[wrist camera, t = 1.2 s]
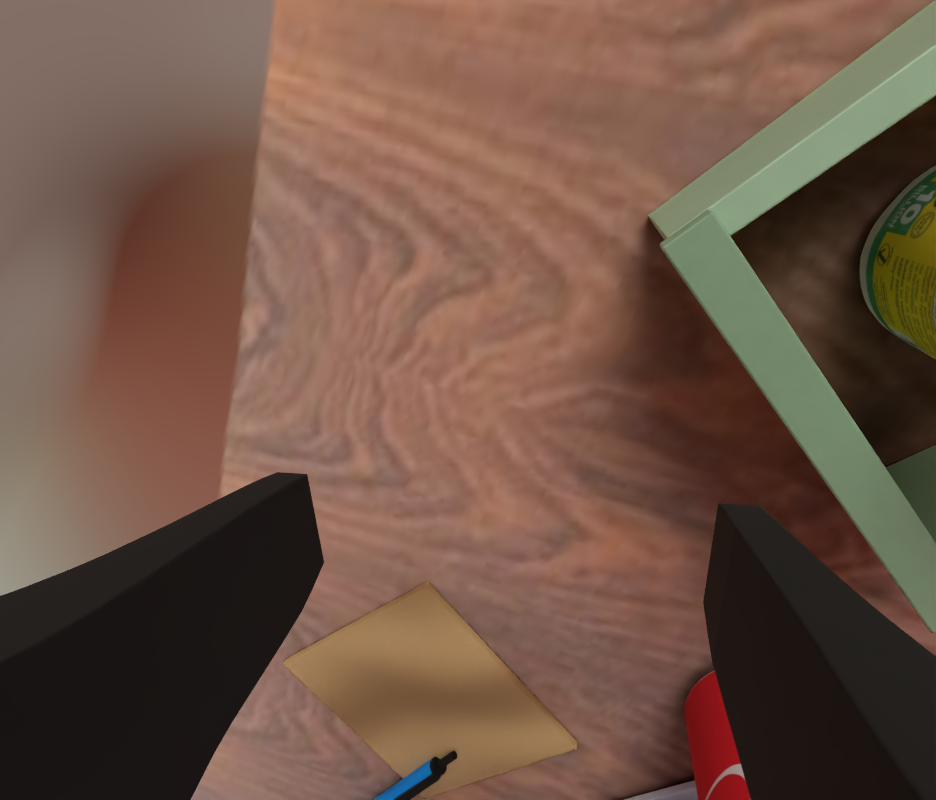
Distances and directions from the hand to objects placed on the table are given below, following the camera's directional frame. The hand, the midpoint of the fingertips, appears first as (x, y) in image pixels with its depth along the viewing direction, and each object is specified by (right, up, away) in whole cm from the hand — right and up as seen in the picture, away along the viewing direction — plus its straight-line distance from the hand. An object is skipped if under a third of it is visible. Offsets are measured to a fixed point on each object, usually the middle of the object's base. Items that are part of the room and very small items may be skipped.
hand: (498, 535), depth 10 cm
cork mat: (-3, -12, +17) cm, 21 cm away
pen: (-7, -21, +23) cm, 32 cm away
